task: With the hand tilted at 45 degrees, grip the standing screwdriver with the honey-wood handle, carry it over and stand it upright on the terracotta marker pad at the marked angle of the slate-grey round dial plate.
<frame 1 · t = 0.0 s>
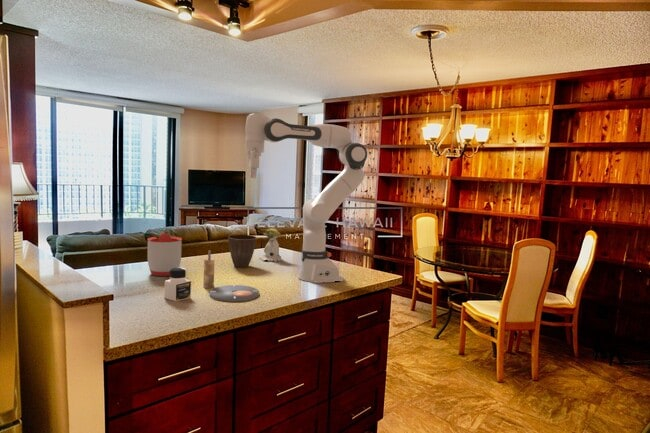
hand: (253, 178, 196), 48 cm above the worktop, tool pointing down, fingers open, 8 cm apart
medicine bottle: (177, 298, 165), on the worktop
citrus juicer: (163, 273, 202), on the worktop
green headed figurine: (270, 259, 246), on the worktop
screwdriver: (208, 286, 183), on the worktop
plant pot: (241, 266, 224), on the worktop
dial plate: (234, 294, 174), on the worktop
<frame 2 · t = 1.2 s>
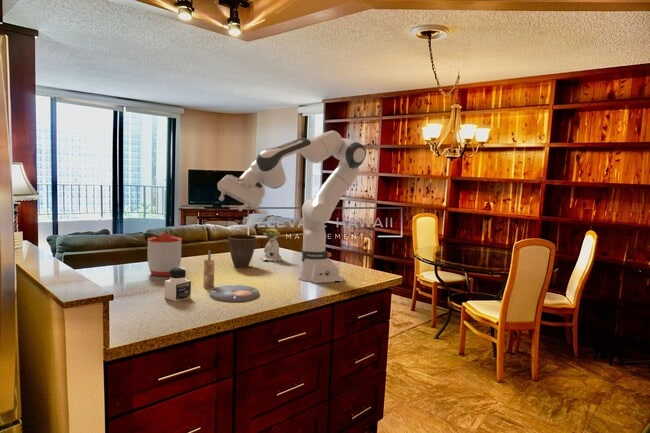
hand: (229, 204, 177), 37 cm above the worktop, tool tilted 50°, fingers open, 8 cm apart
nothing on the worktop moved.
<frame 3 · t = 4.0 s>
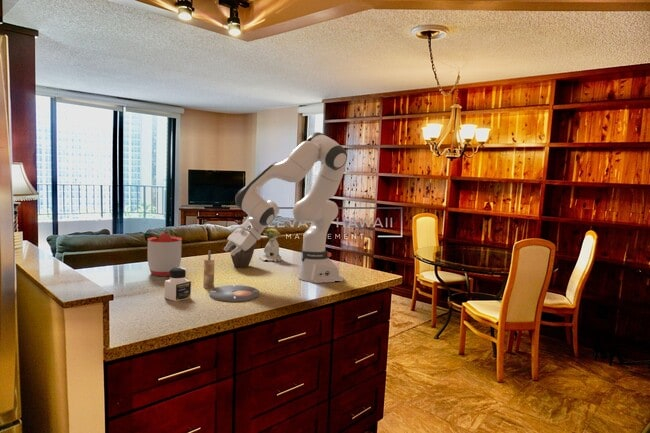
hand: (228, 252, 185), 15 cm above the worktop, tool tilted 45°, fingers open, 8 cm apart
nothing on the worktop moved.
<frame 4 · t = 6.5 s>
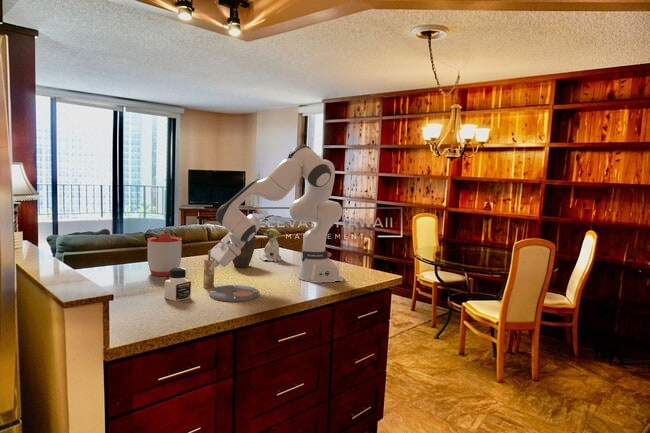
hand: (207, 267, 182), 8 cm above the worktop, tool tilted 45°, fingers closed on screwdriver, 4 cm apart
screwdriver: (208, 286, 183), on the worktop, touching gripper
everything else where it was.
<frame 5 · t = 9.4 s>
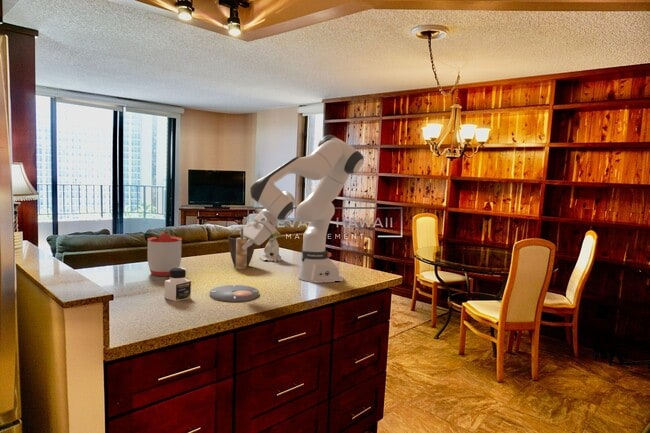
hand: (240, 247, 170), 20 cm above the worktop, tool tilted 45°, fingers closed on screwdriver, 4 cm apart
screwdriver: (241, 267, 171), point 12 cm above the worktop, touching gripper
everything else where it was.
when the fingers open (11 cm above the worktop, at t = 12.3 s): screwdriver stays where it is, resting on dial plate.
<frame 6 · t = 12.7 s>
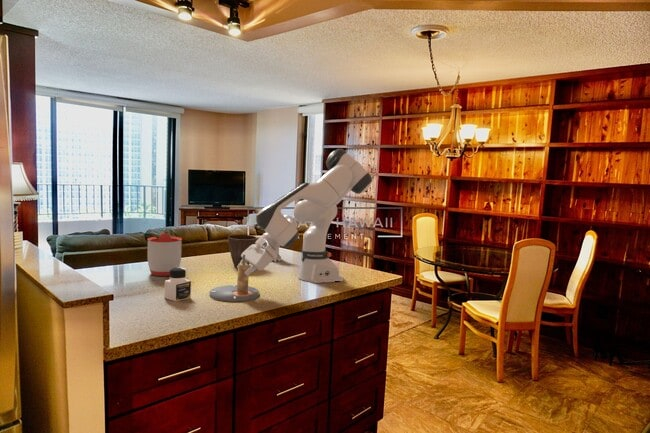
hand: (241, 271, 170), 11 cm above the worktop, tool tilted 45°, fingers open, 8 cm apart
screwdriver: (242, 293, 172), point 1 cm above the worktop, touching dial plate
everything else where it was.
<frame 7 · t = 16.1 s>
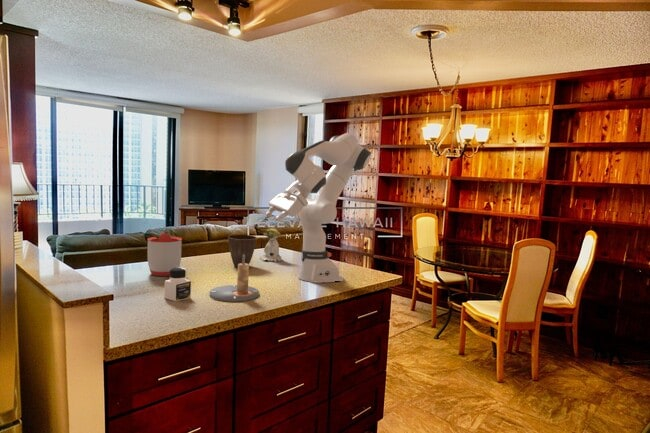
hand: (271, 217, 175), 32 cm above the worktop, tool tilted 45°, fingers open, 8 cm apart
nothing on the worktop moved.
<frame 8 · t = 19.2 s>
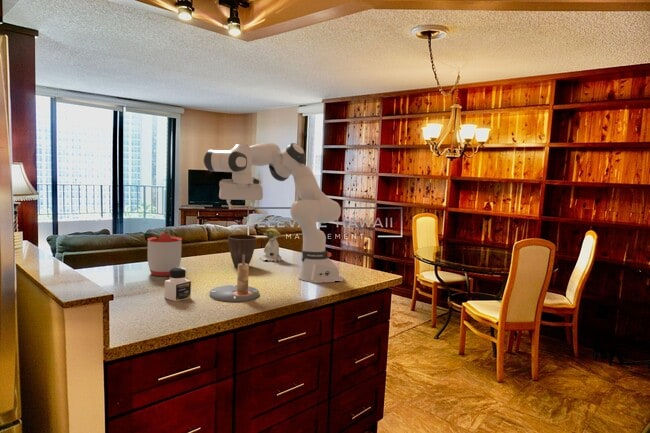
hand: (240, 209, 196), 33 cm above the worktop, tool pointing down, fingers open, 8 cm apart
nothing on the worktop moved.
at the end: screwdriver 0.1 cm from the target spot on the dial plate, point 1.4 cm above the dial plate's base; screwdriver tilted 0°; the gripper is holding nothing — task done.
